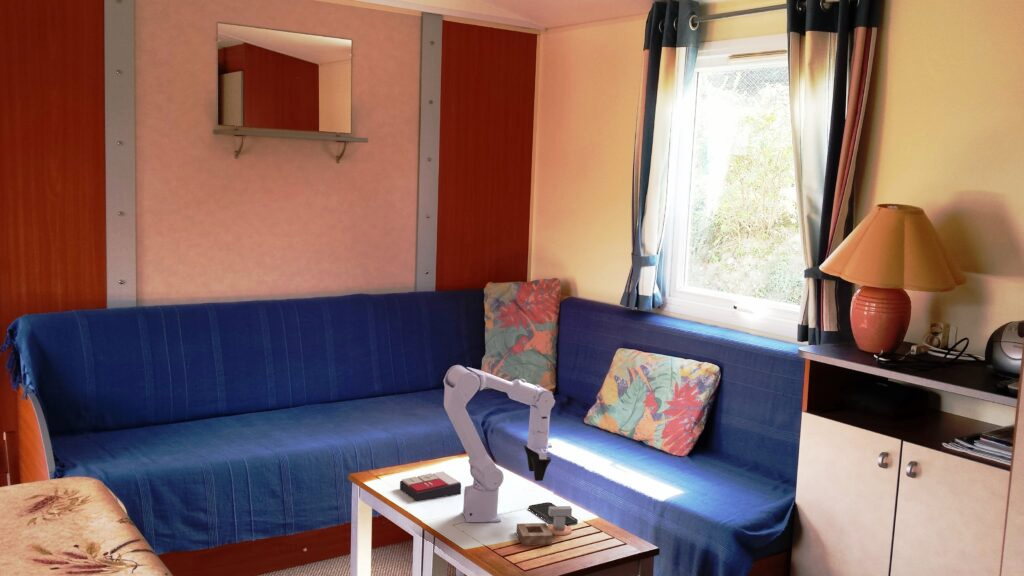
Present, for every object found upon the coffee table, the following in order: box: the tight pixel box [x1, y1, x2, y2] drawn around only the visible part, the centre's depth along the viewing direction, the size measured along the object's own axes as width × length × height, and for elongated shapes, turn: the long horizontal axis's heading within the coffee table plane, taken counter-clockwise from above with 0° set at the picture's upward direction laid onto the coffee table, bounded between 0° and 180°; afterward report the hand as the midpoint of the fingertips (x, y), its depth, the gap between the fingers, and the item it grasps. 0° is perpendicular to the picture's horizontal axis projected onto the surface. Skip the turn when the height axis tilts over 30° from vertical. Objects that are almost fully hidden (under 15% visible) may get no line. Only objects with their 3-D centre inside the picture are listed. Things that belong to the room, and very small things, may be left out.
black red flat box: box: [399, 471, 462, 502], centre depth 265 cm, size 11×4×15 cm
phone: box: [528, 501, 579, 526], centre depth 253 cm, size 8×1×15 cm
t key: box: [548, 505, 573, 531], centre depth 242 cm, size 6×3×6 cm, turn 101°
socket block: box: [516, 522, 554, 546], centre depth 236 cm, size 8×8×2 cm
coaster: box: [547, 523, 573, 536], centre depth 243 cm, size 7×7×1 cm
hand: (535, 475), depth 254 cm, fingers open, 7 cm apart
